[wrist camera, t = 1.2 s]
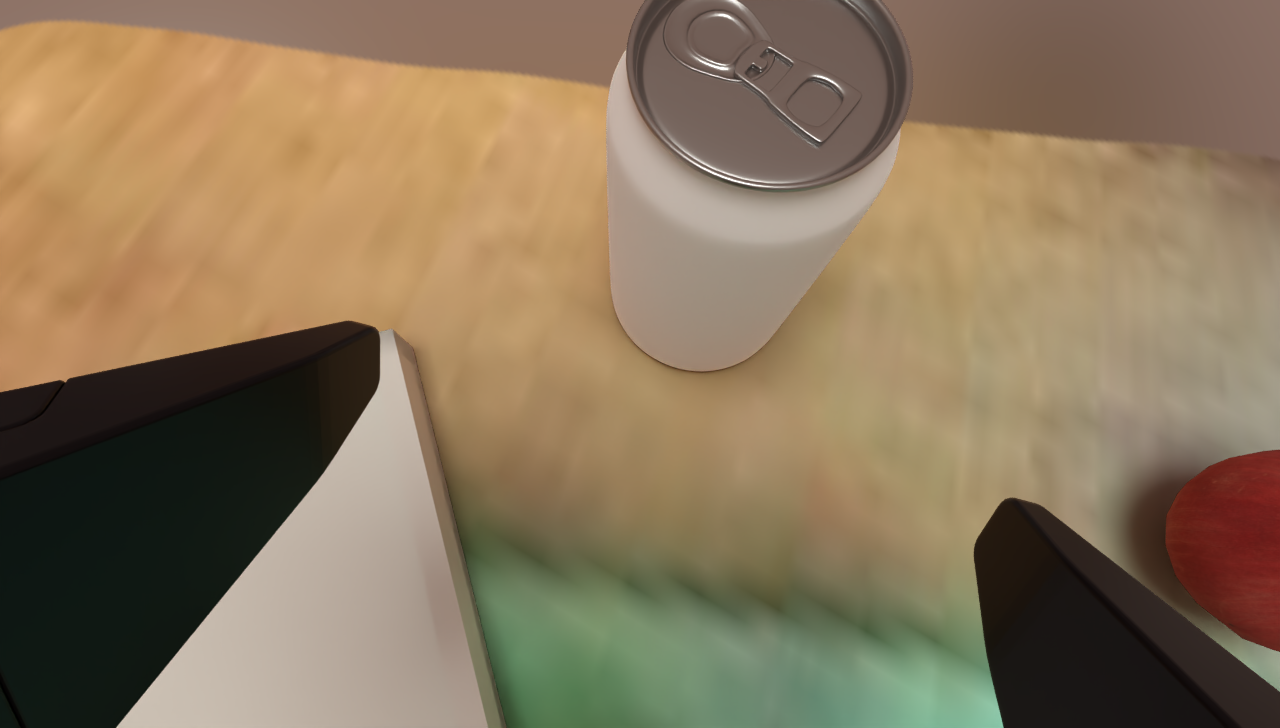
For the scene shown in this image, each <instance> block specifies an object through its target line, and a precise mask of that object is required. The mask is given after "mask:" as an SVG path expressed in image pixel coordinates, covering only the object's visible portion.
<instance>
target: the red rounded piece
mask: <svg viewBox="0 0 1280 728" xmlns="http://www.w3.org/2000/svg"><path fill="white" fill-rule="evenodd" d="M1166 548H1167V551H1168V554H1169V557H1170V560H1171V563H1172V566H1173V569H1174V572H1175V575H1176V577H1177V578H1178V579H1179V581H1180V582H1181V583H1182V585H1183V586H1184V587H1185V588H1186V590H1187V591H1188V592H1189V594H1190V595H1191V596H1192V598H1193V599H1194V600H1195V602H1196V603H1198V604H1199V605H1200V606H1201V607H1203V608H1204V609H1205V610H1207V611H1208V612H1209V613H1210V614H1212V615H1213V616H1214V617H1216V618H1217V619H1218V620H1219V621H1221V622H1222V623H1223V624H1225V625H1226V626H1227V627H1228V628H1230V629H1231V630H1232V631H1234V632H1235V633H1236V634H1237V635H1239V636H1240V637H1241V638H1243V639H1245V640H1248V641H1251V642H1253V643H1256V644H1259V645H1261V646H1264V647H1267V648H1270V649H1272V650H1276V651H1279V652H1280V450H1272V451H1262V452H1257V453H1252V454H1247V455H1242V456H1237V457H1232V458H1228V459H1226V460H1224V461H1221V462H1219V463H1216V464H1214V465H1211V466H1209V467H1208V468H1206V469H1205V470H1204V471H1202V472H1201V473H1200V474H1198V475H1197V476H1196V477H1194V478H1193V479H1191V480H1190V481H1189V482H1187V483H1186V485H1185V486H1184V487H1183V488H1182V489H1181V490H1180V491H1179V493H1178V494H1177V496H1176V498H1175V500H1174V502H1173V504H1172V506H1171V508H1170V510H1169V512H1168V514H1167V516H1166Z"/></svg>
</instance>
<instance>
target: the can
mask: <svg viewBox="0 0 1280 728" xmlns="http://www.w3.org/2000/svg"><path fill="white" fill-rule="evenodd" d="M912 89H913V68H912V61H911V56H910V51H909V48H908V45H907V42H906V39H905V37H904V34H903V32H902V30H901V28H900V26H899V24H898V23H897V21H896V19H895V18H894V16H893V15H892V13H891V12H890V10H889V9H888V8H887V6H886V5H885V4H884V3H883V2H882V0H645V1H644V3H643V4H642V6H641V7H640V9H639V11H638V13H637V15H636V17H635V19H634V22H633V24H632V27H631V30H630V33H629V38H628V42H627V48H626V50H625V52H624V53H623V55H622V57H621V59H620V61H619V63H618V65H617V68H616V70H615V72H614V75H613V79H612V82H611V85H610V90H609V97H608V104H607V119H606V149H607V194H608V229H609V258H610V281H611V293H612V300H613V305H614V308H615V312H616V314H617V317H618V319H619V321H620V323H621V325H622V327H623V329H624V330H625V332H626V333H627V335H628V336H629V337H630V338H631V340H632V341H633V342H634V343H635V344H636V345H637V346H638V347H639V348H640V349H642V350H643V351H644V352H645V353H647V354H648V355H649V356H651V357H653V358H654V359H656V360H658V361H660V362H662V363H664V364H666V365H669V366H672V367H675V368H679V369H683V370H689V371H714V370H720V369H724V368H728V367H731V366H733V365H736V364H738V363H740V362H742V361H744V360H746V359H748V358H749V357H751V356H752V355H754V354H755V353H756V352H757V351H759V350H760V349H761V348H762V347H763V346H764V345H765V344H766V343H767V342H768V341H769V339H770V338H771V337H772V336H773V335H774V333H775V332H776V331H777V330H778V328H779V327H780V326H781V325H782V323H783V322H784V321H785V319H786V318H787V317H788V316H789V314H790V313H791V312H792V310H793V309H794V308H795V306H796V305H797V304H798V303H799V301H800V300H801V299H802V297H803V296H804V295H805V293H806V292H807V291H808V289H809V288H810V287H811V285H812V284H813V283H814V281H815V280H816V279H817V278H818V276H819V275H820V274H821V272H822V271H823V270H824V268H825V267H826V266H827V264H828V263H829V262H830V260H831V259H832V258H833V256H834V255H835V254H836V252H837V251H838V250H839V248H840V247H841V246H842V244H843V243H844V242H845V240H846V239H847V238H848V236H849V235H850V234H851V232H852V231H853V230H854V228H855V227H856V226H857V224H858V223H859V221H860V220H861V219H862V217H863V216H864V215H865V213H866V212H867V211H868V209H869V208H870V206H871V205H872V203H873V202H874V200H875V199H876V197H877V196H878V194H879V193H880V191H881V189H882V188H883V186H884V184H885V182H886V180H887V178H888V176H889V174H890V172H891V170H892V167H893V165H894V162H895V158H896V155H897V151H898V145H899V138H900V128H901V126H902V124H903V122H904V120H905V117H906V115H907V112H908V109H909V106H910V101H911V97H912Z"/></svg>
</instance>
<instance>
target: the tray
mask: <svg viewBox="0 0 1280 728" xmlns="http://www.w3.org/2000/svg"><path fill="white" fill-rule="evenodd" d="M379 334H380V381H379V385H378V388H377V390H376V392H375V394H374V396H373V397H372V399H371V401H370V402H369V404H368V405H367V407H366V408H365V410H364V412H363V413H362V415H361V416H360V418H359V419H358V421H357V423H356V424H355V426H354V427H353V429H352V430H351V432H350V433H349V435H348V437H347V438H346V440H345V441H344V443H343V444H342V446H341V448H340V449H339V451H338V452H337V454H336V455H335V457H334V459H333V460H332V462H331V463H330V464H329V466H328V467H327V469H326V470H325V472H324V473H323V475H322V476H321V477H320V478H319V480H318V481H317V482H316V484H315V485H314V486H313V487H312V489H311V490H310V491H309V492H308V494H307V495H306V496H305V497H304V498H303V500H302V501H301V502H300V503H299V505H298V506H297V507H296V508H295V509H294V511H293V512H292V513H291V514H290V516H289V517H288V518H287V519H286V520H285V522H284V523H283V524H282V525H281V527H280V528H279V529H278V530H277V531H276V533H275V534H274V535H273V536H272V538H271V539H270V540H269V541H268V543H267V544H266V545H265V546H264V547H263V549H262V550H261V551H260V552H259V554H258V555H257V556H256V557H255V558H254V560H253V561H252V562H251V563H250V565H249V566H248V567H247V568H246V569H245V571H244V572H243V573H242V574H241V576H240V577H239V578H238V579H237V580H236V582H235V583H234V584H233V585H232V587H231V588H230V589H229V590H228V592H227V593H226V594H225V595H224V596H223V598H222V599H221V600H220V601H219V603H218V604H217V605H216V606H215V607H214V609H213V610H212V611H211V612H210V614H209V615H208V616H207V617H206V618H205V620H204V621H203V622H202V623H201V625H200V626H199V627H198V628H197V629H196V631H195V632H194V633H193V634H192V636H191V637H190V638H189V639H188V640H187V642H186V643H185V644H184V645H183V647H182V648H181V649H180V650H179V652H178V653H177V654H176V655H175V656H174V658H173V659H172V660H171V661H170V663H169V664H168V665H167V666H166V667H165V669H164V670H163V671H162V672H161V674H160V675H159V676H158V677H157V678H156V680H155V681H154V682H153V683H152V685H151V686H150V687H149V688H148V689H147V691H146V692H145V693H144V694H143V696H142V697H141V698H140V699H139V701H138V702H137V703H136V704H135V705H134V707H133V708H132V709H131V710H130V712H129V713H128V714H127V715H126V716H125V718H124V719H123V720H122V721H121V723H120V724H119V725H118V726H117V727H116V728H507V727H506V723H505V719H504V715H503V711H502V707H501V703H500V699H499V695H498V690H497V686H496V682H495V678H494V674H493V670H492V666H491V662H490V658H489V654H488V650H487V646H486V642H485V638H484V634H483V630H482V626H481V622H480V618H479V614H478V610H477V605H476V601H475V597H474V593H473V589H472V585H471V581H470V577H469V573H468V569H467V565H466V561H465V557H464V553H463V549H462V545H461V541H460V537H459V533H458V529H457V525H456V520H455V516H454V512H453V508H452V504H451V500H450V496H449V492H448V488H447V484H446V480H445V476H444V472H443V468H442V464H441V460H440V456H439V452H438V448H437V444H436V440H435V435H434V431H433V427H432V423H431V419H430V415H429V411H428V407H427V403H426V399H425V395H424V391H423V387H422V383H421V379H420V375H419V371H418V367H417V363H416V359H415V355H414V350H413V348H412V347H411V346H410V345H409V344H408V343H407V342H406V341H405V340H404V339H403V338H402V337H401V336H399V335H398V334H397V333H396V332H395V331H394V330H393V329H389V330H385V331H382V332H379Z"/></svg>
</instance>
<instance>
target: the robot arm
mask: <svg viewBox="0 0 1280 728" xmlns="http://www.w3.org/2000/svg"><path fill="white" fill-rule="evenodd" d="M379 381H380V334H379V331H378V330H377V329H376V328H375V327H373V326H369V325H366V324H362V323H358V322H355V321H343V322H338V323H333V324H329V325H324V326H319V327H314V328H309V329H305V330H300V331H295V332H290V333H285V334H280V335H276V336H271V337H266V338H261V339H256V340H252V341H247V342H242V343H237V344H232V345H227V346H223V347H218V348H213V349H208V350H203V351H199V352H194V353H189V354H184V355H179V356H174V357H170V358H165V359H160V360H155V361H150V362H146V363H141V364H136V365H131V366H126V367H122V368H117V369H112V370H107V371H102V372H97V373H93V374H88V375H83V376H78V377H73V378H69V379H68V380H67V381H66V383H65V382H64V381H61V380H58V381H53V382H49V383H44V384H39V385H34V386H29V387H25V388H20V389H14V390H9V391H4V392H0V728H116V727H117V726H118V725H119V724H120V723H121V721H122V720H123V719H124V718H125V716H126V715H127V714H128V713H129V712H130V710H131V709H132V708H133V707H134V705H135V704H136V703H137V702H138V701H139V699H140V698H141V697H142V696H143V694H144V693H145V692H146V691H147V689H148V688H149V687H150V686H151V685H152V683H153V682H154V681H155V680H156V678H157V677H158V676H159V675H160V674H161V672H162V671H163V670H164V669H165V667H166V666H167V665H168V664H169V663H170V661H171V660H172V659H173V658H174V656H175V655H176V654H177V653H178V652H179V650H180V649H181V648H182V647H183V645H184V644H185V643H186V642H187V640H188V639H189V638H190V637H191V636H192V634H193V633H194V632H195V631H196V629H197V628H198V627H199V626H200V625H201V623H202V622H203V621H204V620H205V618H206V617H207V616H208V615H209V614H210V612H211V611H212V610H213V609H214V607H215V606H216V605H217V604H218V603H219V601H220V600H221V599H222V598H223V596H224V595H225V594H226V593H227V592H228V590H229V589H230V588H231V587H232V585H233V584H234V583H235V582H236V580H237V579H238V578H239V577H240V576H241V574H242V573H243V572H244V571H245V569H246V568H247V567H248V566H249V565H250V563H251V562H252V561H253V560H254V558H255V557H256V556H257V555H258V554H259V552H260V551H261V550H262V549H263V547H264V546H265V545H266V544H267V543H268V541H269V540H270V539H271V538H272V536H273V535H274V534H275V533H276V531H277V530H278V529H279V528H280V527H281V525H282V524H283V523H284V522H285V520H286V519H287V518H288V517H289V516H290V514H291V513H292V512H293V511H294V509H295V508H296V507H297V506H298V505H299V503H300V502H301V501H302V500H303V498H304V497H305V496H306V495H307V494H308V492H309V491H310V490H311V489H312V487H313V486H314V485H315V484H316V482H317V481H318V480H319V478H320V477H321V476H322V475H323V473H324V472H325V470H326V469H327V467H328V466H329V464H330V463H331V462H332V460H333V459H334V457H335V455H336V454H337V452H338V451H339V449H340V448H341V446H342V444H343V443H344V441H345V440H346V438H347V437H348V435H349V433H350V432H351V430H352V429H353V427H354V426H355V424H356V423H357V421H358V419H359V418H360V416H361V415H362V413H363V412H364V410H365V408H366V407H367V405H368V404H369V402H370V401H371V399H372V397H373V396H374V394H375V392H376V390H377V388H378V385H379ZM974 563H975V570H976V578H977V586H978V594H979V602H980V610H981V617H982V625H983V633H984V641H985V647H986V653H987V659H988V663H989V668H990V673H991V677H992V681H993V685H994V690H995V694H996V698H997V702H998V706H999V710H1000V714H1001V718H1002V722H1003V727H1004V728H1280V692H1279V691H1278V690H1277V689H1275V688H1274V687H1273V686H1272V685H1270V684H1269V683H1268V682H1266V681H1265V680H1264V679H1263V678H1261V677H1260V676H1259V675H1257V674H1256V673H1255V672H1254V671H1252V670H1251V669H1250V668H1248V667H1247V666H1246V665H1245V664H1243V663H1242V662H1241V661H1240V660H1238V659H1237V658H1236V657H1234V656H1233V655H1232V654H1231V653H1229V652H1228V651H1227V650H1225V649H1224V648H1223V647H1222V646H1220V645H1219V644H1218V643H1216V642H1215V641H1214V640H1213V639H1211V638H1210V637H1209V636H1208V635H1206V634H1205V633H1204V632H1202V631H1201V630H1200V629H1199V628H1197V627H1196V626H1195V625H1193V624H1192V623H1191V622H1190V621H1188V620H1187V619H1186V618H1185V617H1183V616H1182V615H1181V614H1179V613H1178V612H1177V611H1176V610H1174V609H1173V608H1172V607H1170V606H1169V605H1168V604H1167V603H1165V602H1164V601H1163V600H1161V599H1160V598H1159V597H1158V596H1156V595H1155V594H1154V593H1153V592H1151V591H1150V590H1149V589H1147V588H1146V587H1145V586H1144V585H1142V584H1141V583H1140V582H1138V581H1137V580H1136V579H1135V578H1133V577H1132V576H1131V575H1130V574H1128V573H1127V572H1126V571H1124V570H1123V569H1122V568H1121V567H1119V566H1118V565H1117V564H1115V563H1114V562H1113V561H1112V560H1110V559H1109V558H1108V557H1106V556H1105V555H1104V554H1103V553H1101V552H1100V551H1099V550H1098V549H1096V548H1095V547H1094V546H1092V545H1091V544H1090V543H1089V542H1087V541H1086V540H1085V539H1083V538H1082V537H1081V536H1080V535H1078V534H1077V533H1076V532H1074V531H1073V530H1072V529H1071V528H1069V527H1068V526H1067V525H1066V524H1064V523H1063V522H1062V521H1060V520H1059V519H1058V518H1057V517H1055V516H1054V515H1053V514H1051V513H1050V512H1049V511H1048V510H1046V509H1045V508H1044V507H1042V506H1041V505H1038V504H1036V503H1032V502H1028V501H1025V500H1021V499H1017V498H1007V499H1005V500H1004V501H1002V502H1001V503H1000V505H999V506H998V507H997V509H996V510H995V512H994V514H993V515H992V517H991V518H990V520H989V521H988V523H987V524H986V526H985V527H984V529H983V530H982V532H981V533H980V535H979V536H978V538H977V540H976V543H975V547H974Z"/></svg>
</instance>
